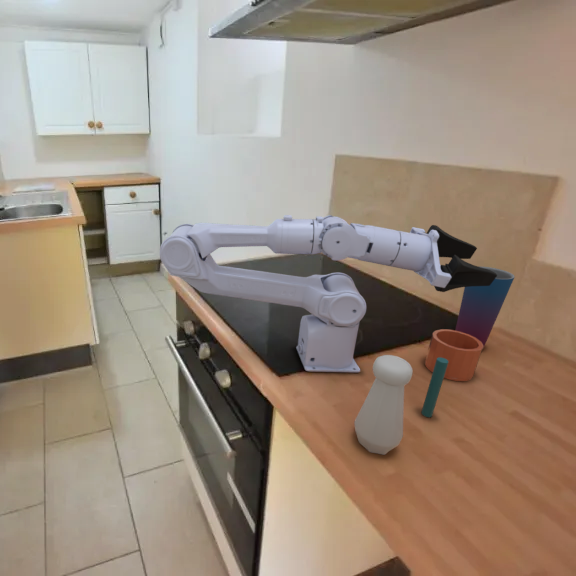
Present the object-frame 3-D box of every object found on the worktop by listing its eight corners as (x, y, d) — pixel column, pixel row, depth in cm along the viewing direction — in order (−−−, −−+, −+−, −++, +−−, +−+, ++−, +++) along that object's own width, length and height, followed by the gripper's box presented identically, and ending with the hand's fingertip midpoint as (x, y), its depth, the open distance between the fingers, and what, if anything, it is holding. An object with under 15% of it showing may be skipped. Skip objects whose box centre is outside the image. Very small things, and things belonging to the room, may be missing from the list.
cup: (476, 335, 78) (498, 266, 72) (497, 353, 71) (524, 279, 66) (441, 334, 78) (461, 265, 73) (459, 351, 72) (482, 278, 66)
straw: (424, 417, 56) (440, 362, 52) (419, 411, 57) (434, 357, 53) (434, 417, 56) (450, 362, 52) (428, 411, 57) (444, 357, 53)
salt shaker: (375, 465, 48) (397, 379, 43) (342, 434, 52) (357, 354, 48) (408, 451, 50) (432, 368, 45) (373, 422, 55) (391, 344, 50)
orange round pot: (438, 380, 64) (448, 350, 61) (417, 357, 70) (424, 328, 68) (482, 381, 64) (493, 351, 61) (456, 358, 70) (465, 329, 68)
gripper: (415, 250, 52) (520, 270, 51) (393, 206, 63) (478, 221, 62) (393, 290, 56) (489, 309, 55) (376, 242, 68) (455, 257, 66)
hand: (482, 265), depth 59 cm, fingers open, 7 cm apart
